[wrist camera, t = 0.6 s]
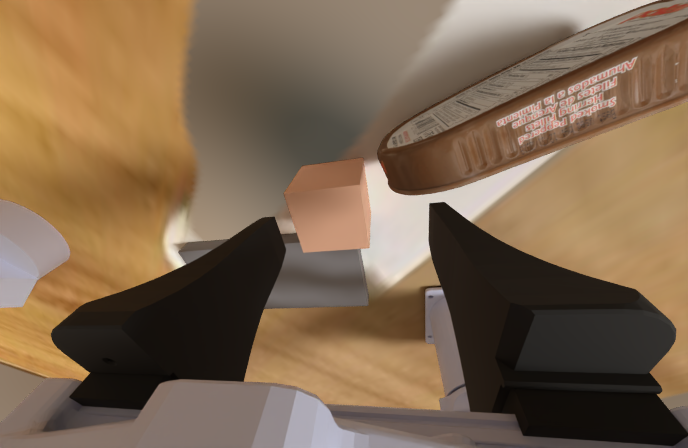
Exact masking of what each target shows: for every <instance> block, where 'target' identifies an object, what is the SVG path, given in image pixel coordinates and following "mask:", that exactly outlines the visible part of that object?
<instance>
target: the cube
mask: <svg viewBox="0 0 688 448" xmlns="http://www.w3.org/2000/svg"><path fill="white" fill-rule="evenodd" d="M284 197H285V200H286V203H287V206H288V209H289V211H290V214H291V217H292V220H293V223H294V226H295V229H296V232H297V235H298V238H299V241H300V244H301V247H302V250H303V253H306V252H320V251H335V250H349V249H364V248H369V246H370V221H371V210H370V203H369V196H368V189H367V181H366V174H365V167H364V160H363V158H357V159H350V160H343V161H333V162H325V163H318V164H311V165H303V166H302V167H301V168H300V170H299V171H298V173H297V174H296V176H295V177H294V179H293V180H292V182H291V183H290V185H289V186H288V188H287V189H286V191H285V192H284Z"/></svg>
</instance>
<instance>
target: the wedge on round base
mask: <svg viewBox="0 0 688 448" xmlns="http://www.w3.org/2000/svg"><path fill="white" fill-rule="evenodd" d="M69 257H70V249H69V246H68V244H67V242H66V241H65V239H64V238H63V236H62V235H61V234H60V233H59V232H58V231H57V230H56V229H55V228H54V227H53V226H52V225H51V224H50V223H49V222H47V221H46V220H45V219H43V218H42V217H41V216H39V215H38V214H36V213H34V212H33V211H31V210H29V209H27V208H25V207H23V206H21V205H19V204H16V203H14V202H10V201H7V200H2V199H0V308H5V307H23V305H24V303H25V301H26V300H27V298H28V296H29V294H30V292H31V291H32V289H33V287H34V285H35V284H36V282H37V280H39V279H40V278H42V277H43V276H45V275H46V274H48V273H49V272H51V271H52V270H54V269H55V268H57V267H58V266H60V265H61V264H63V263H64V262H66V261H67V260H68V259H69Z"/></svg>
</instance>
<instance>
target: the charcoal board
mask: <svg viewBox="0 0 688 448" xmlns="http://www.w3.org/2000/svg"><path fill="white" fill-rule="evenodd" d="M281 236H282V239H283V242H284V245H285V247H286V253H285V258H284V261H283V265H282V268H281V270H280V273H279V275H278V278H277V280H276V282H275V284H274V287H273V289H272V291H271V294H270V296H269V298H268V300H267V303H266V305H265V307H264V309H273V308H309V307H346V306H368V297H369V294H368V289H367V283H366V278H365V272H364V267H363V261H362V256H361V250H360V249H349V250H335V251H320V252H306V253H303V250H302V247H301V244H300V241H299V238H298V235H297V234H285V235H281ZM227 240H229V239H226V240H214V241H203V242H191V243H187V244H186V245H185V246H184V247H183V248H182V249H181V250H180V251H179V254H180V255H181V257H182V258H183V260H184V261H185V263H186V264H188V263H190V262H192V261H194V260H196V259H198V258H200V257H201V256H203V255H205V254H207V253H208V252H210V251H211V250H213V249H215V248H216V247H218V246H219V245H221V244H223V243H224V242H226V241H227Z"/></svg>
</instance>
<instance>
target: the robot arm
mask: <svg viewBox="0 0 688 448" xmlns="http://www.w3.org/2000/svg"><path fill="white" fill-rule="evenodd" d="M429 246H430V251H431V256H432V261H433V264H434V267H435V269H436V272H437V275H438V278H439V281H440V284H441V287H439V288H427V289H426V290H425V340H426V342H427V343H428V344H435V347H436V352H437V357H438V362H439V367H440V372H441V377H442V382H443V387H444V392H445V397H444V398H440V399H439V402H440V408H441V410H426V409H408V408H390V407H371V406H353V405H335V404H324V403H323V402H322V401H321V400H320V399H319V397H318V396H317V395H315V394H312V393H310V392H308V391H305V390H303V389H301V388H299V387H295V386H289V385H283V384H277V383H261V382H244V377H245V373H246V369H247V365H248V361H249V357H250V353H251V349H252V345H253V342H254V338H255V335H256V331H257V328H258V325H259V322H260V319H261V315H262V313H263V310H264V307H265V305H266V303H267V300H268V298H269V296H270V294H271V291H272V289H273V287H274V284H275V282H276V280H277V278H278V275H279V273H280V270H281V268H282V265H283V261H284V258H285V253H286V247H285V245H284V242H283V239H282V236H281V234H280V231H279V228H278V225H277V222H276V220H275V217H265V218H261V219H259V220H258V221H256V222H255V223H253V224H251V225H250V226H248V227H246V228H245V229H244V230H242V231H241V232H239V233H238V234H236V235H235V236H233V237H232V238H230V239H229V240H227V241H226V242H224V243H223V244H221V245H219V246H218V247H216V248H215V249H213V250H211V251H210V252H208V253H207V254H205V255H203V256H201V257H200V258H198V259H196V260H194V261H192V262H190V263H188V264H186V265H184V266H182V267H180V268H178V269H176V270H174V271H172V272H169V273H167V274H165V275H163V276H161V277H159V278H156V279H154V280H151V281H149V282H146V283H144V284H141V285H139V286H136V287H133V288H131V289H128V290H125V291H122V292H119V293H116V294H113V295H110V296H107V297H104V298H101V299H97V300H94V301H91V302H88V303H85V304H84V305H82V306H80V307H79V308H78V309H76V310H75V311H74V312H73V313H72V314H71V315H69V316H68V317H67V318H66V319H65V320H63V321H62V322H61V323H60V324H59V325H58V326H56V327H55V328H54V329H53V331H52V333H51V337H52V341H53V343H54V344H55V345H56V346H57V348H59V349H60V350H61V351H62V352H63V353H64V354H66V355H67V356H68V357H70V358H71V359H72V360H74V361H75V362H76V363H78V364H79V365H80V366H82V367H83V368H85V369H86V370H87V371H89V372H91V373H90V374H89V375H88V376H87V377H86V378H85V380H84V381H83V382H82V381H79V380H76V379H70V378H46V379H45V380H44V381H42V382H41V383H40V384H39V385H38V386H37V387H36V388H35V389H34V390H33V391H32V392H31V393H30V394H29V395H28V396H27V397H26V398H25V399H24V400H23V401H22V402H21V403H20V404H19V405H18V406H17V407H16V408H15V409H14V410H13V411H12V412H11V413H10V414H9V415H8V416H7V417H6V418H5V419H4V420H3V421H1V422H0V448H688V406H682V407H677V408H673V409H671V410H669V409H668V408H667V407H666V405H665V404H664V403H663V402H662V401H661V399H660V398H659V397H658V396H657V394H660V393H661V392H662V388H661V386H660V385H659V383H658V382H657V381H656V380H655V379H654V378H653V376H652V375H651V374H650V373H649V372H650V371H651V370H652V369H653V367H654V366H655V365H656V364H657V363H658V362H659V361H660V360H661V359H662V358H663V357H664V356H665V355H666V353H667V352H668V351H669V350H670V348H671V347H672V345H673V344H674V342H675V339H676V328H675V327H674V325H673V324H672V322H671V321H670V320H669V319H668V318H667V317H666V316H665V315H664V314H663V313H661V312H660V311H659V310H658V309H657V308H656V307H655V306H654V305H653V304H652V303H650V302H649V301H648V300H647V299H646V298H645V297H644V296H643V295H642V294H640V293H639V292H638V291H637V290H636V289H632V288H628V287H625V286H621V285H618V284H614V283H610V282H607V281H603V280H600V279H596V278H592V277H589V276H586V275H583V274H580V273H577V272H574V271H571V270H568V269H565V268H562V267H559V266H556V265H554V264H551V263H548V262H546V261H543V260H541V259H538V258H536V257H534V256H531V255H529V254H526V253H524V252H522V251H520V250H518V249H516V248H514V247H512V246H510V245H508V244H506V243H504V242H502V241H500V240H498V239H496V238H495V237H493V236H491V235H490V234H488V233H486V232H485V231H483V230H482V229H480V228H479V227H477V226H476V225H474V224H473V223H471V222H470V221H468V220H467V219H466V218H464V217H463V216H462V215H460V214H459V213H458V212H457V211H455V210H454V209H453V208H451V207H450V206H449V205H448V204H446V203H445V202H440V203H429ZM430 295H431V296H430Z"/></svg>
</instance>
